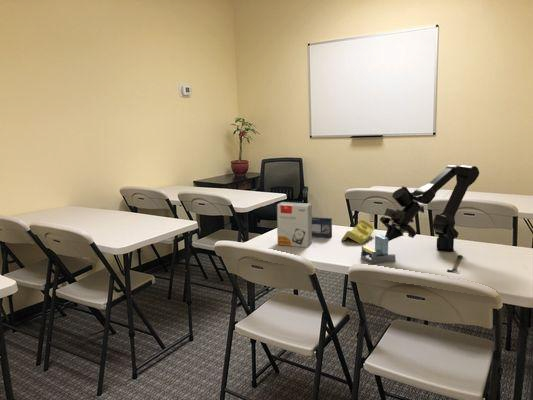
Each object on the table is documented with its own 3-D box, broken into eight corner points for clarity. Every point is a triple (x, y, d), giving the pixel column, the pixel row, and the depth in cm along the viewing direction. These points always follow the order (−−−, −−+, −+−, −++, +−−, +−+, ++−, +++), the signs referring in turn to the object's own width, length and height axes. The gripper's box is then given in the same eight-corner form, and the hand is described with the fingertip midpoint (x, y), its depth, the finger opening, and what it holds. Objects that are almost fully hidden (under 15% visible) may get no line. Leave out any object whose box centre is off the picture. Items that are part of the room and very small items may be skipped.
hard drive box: (277, 245, 198) (275, 204, 194) (282, 240, 205) (281, 201, 201) (308, 247, 192) (307, 206, 188) (312, 243, 199) (312, 203, 195)
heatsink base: (383, 254, 178) (383, 243, 178) (395, 260, 170) (395, 248, 169) (360, 257, 175) (360, 246, 174) (372, 264, 167) (372, 252, 166)
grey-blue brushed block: (379, 252, 176) (380, 234, 175) (387, 256, 170) (388, 238, 169) (368, 254, 174) (368, 236, 173) (376, 258, 169) (376, 239, 167)
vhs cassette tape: (296, 236, 213) (295, 217, 211) (297, 234, 215) (297, 216, 214) (331, 238, 206) (331, 219, 205) (332, 236, 209) (332, 217, 207)
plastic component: (364, 239, 194) (345, 229, 197) (357, 252, 197) (340, 241, 201) (377, 227, 210) (360, 217, 213) (371, 238, 213) (354, 229, 217)
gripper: (383, 197, 180) (361, 224, 178) (410, 205, 162) (385, 235, 161) (398, 213, 183) (376, 240, 182) (426, 223, 166) (402, 252, 164)
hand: (384, 241), depth 172 cm, fingers closed, pressing on grey-blue brushed block
